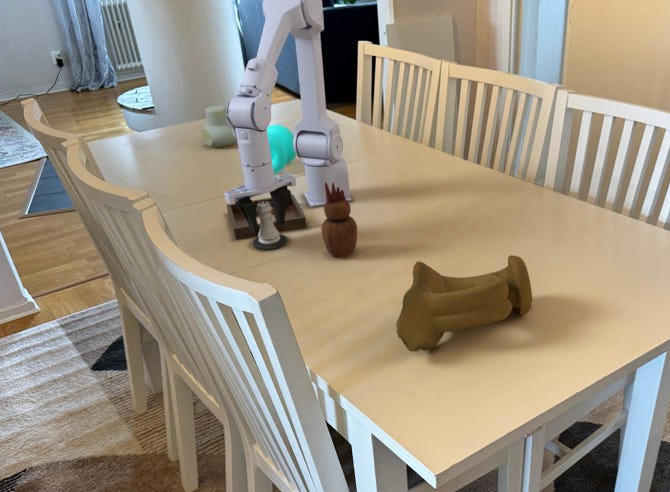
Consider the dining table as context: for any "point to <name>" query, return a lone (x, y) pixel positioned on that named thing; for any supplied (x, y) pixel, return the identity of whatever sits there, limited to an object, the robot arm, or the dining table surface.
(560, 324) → the dining table surface
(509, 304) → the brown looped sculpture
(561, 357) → the dining table surface
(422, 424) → the dining table surface
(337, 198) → the wooden figurine
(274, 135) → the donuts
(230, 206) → the tray
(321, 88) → the robot arm
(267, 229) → the rook chess piece
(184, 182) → the dining table surface
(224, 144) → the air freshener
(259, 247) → the coaster
